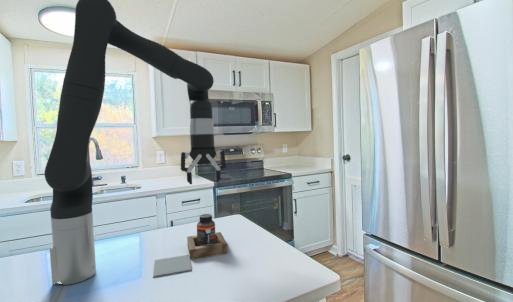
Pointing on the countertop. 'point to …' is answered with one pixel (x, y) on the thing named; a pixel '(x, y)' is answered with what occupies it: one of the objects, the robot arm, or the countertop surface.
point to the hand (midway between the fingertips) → (204, 182)
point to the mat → (172, 265)
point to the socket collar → (207, 247)
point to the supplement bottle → (206, 230)
